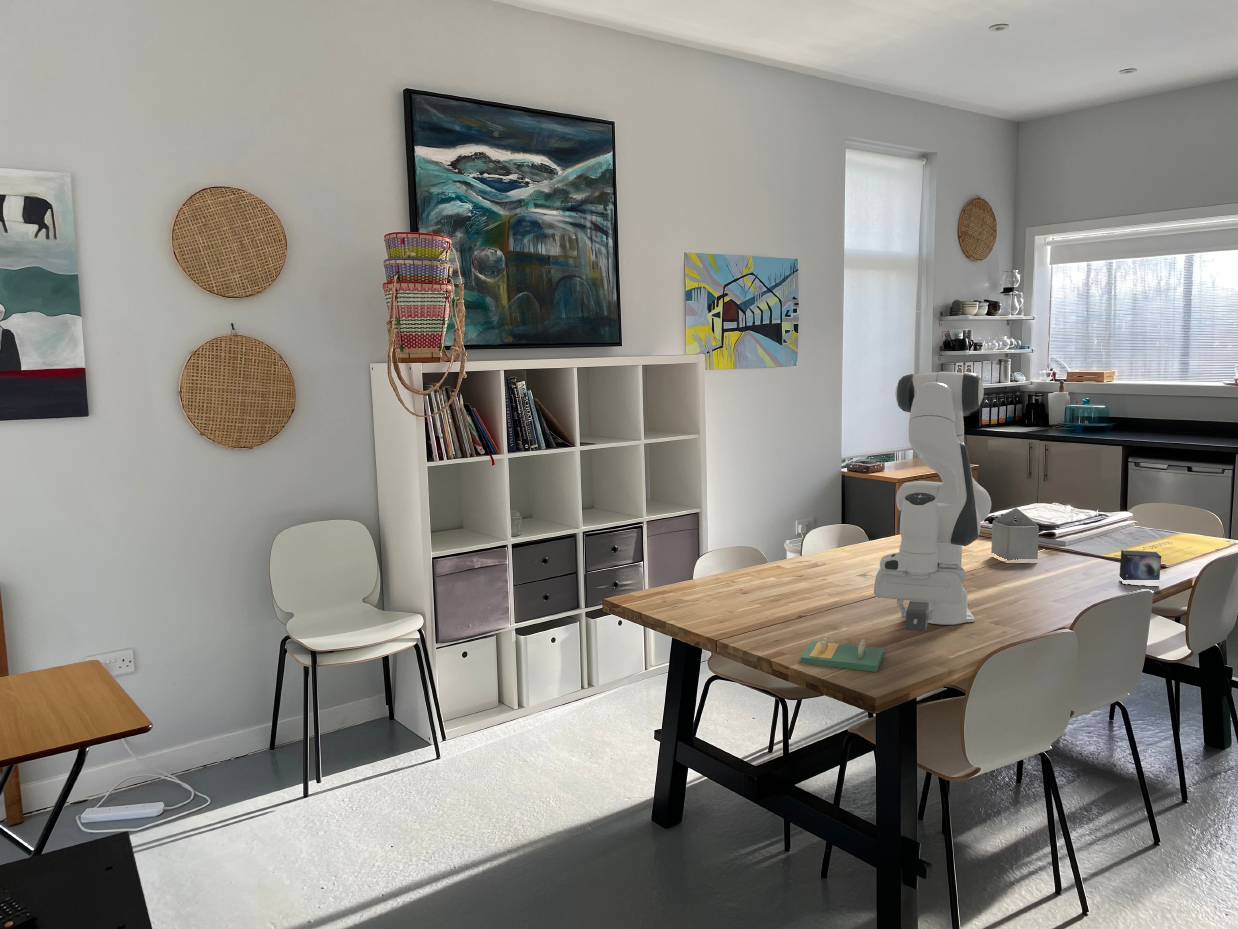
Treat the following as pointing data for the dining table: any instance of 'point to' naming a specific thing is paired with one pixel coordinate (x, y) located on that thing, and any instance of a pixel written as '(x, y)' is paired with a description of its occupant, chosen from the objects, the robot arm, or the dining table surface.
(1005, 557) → the planter
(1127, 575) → the small box
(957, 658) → the dining table surface
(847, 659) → the board
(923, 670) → the dining table surface
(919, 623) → the block
